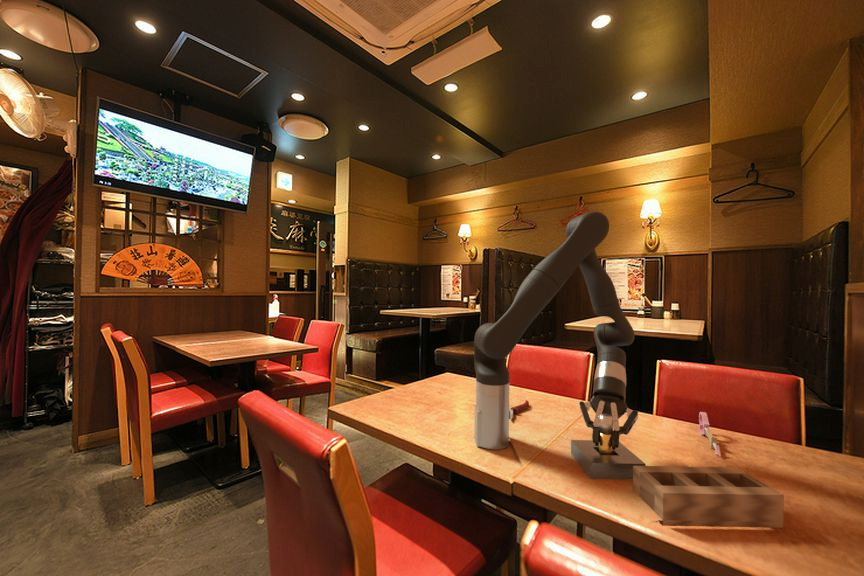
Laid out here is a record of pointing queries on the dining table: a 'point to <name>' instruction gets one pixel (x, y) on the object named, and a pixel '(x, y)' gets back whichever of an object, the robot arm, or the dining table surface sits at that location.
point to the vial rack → (708, 496)
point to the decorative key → (708, 432)
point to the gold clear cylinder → (605, 434)
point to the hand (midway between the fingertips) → (605, 446)
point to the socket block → (605, 460)
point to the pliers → (518, 409)
